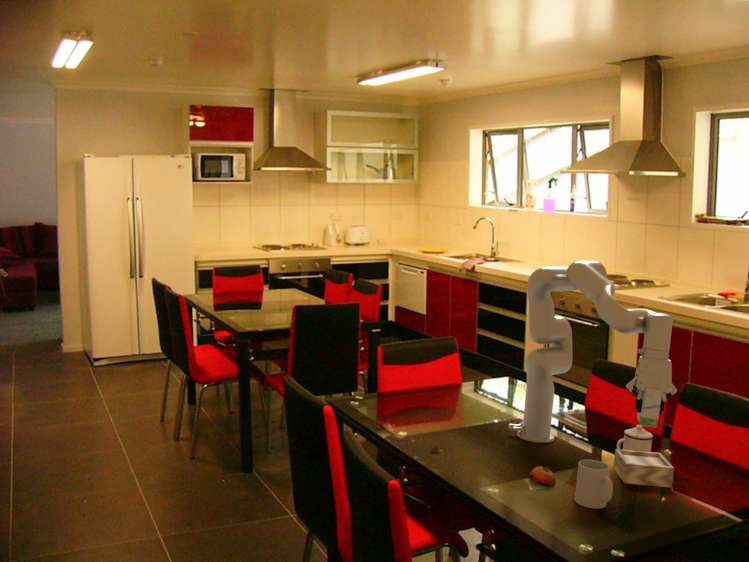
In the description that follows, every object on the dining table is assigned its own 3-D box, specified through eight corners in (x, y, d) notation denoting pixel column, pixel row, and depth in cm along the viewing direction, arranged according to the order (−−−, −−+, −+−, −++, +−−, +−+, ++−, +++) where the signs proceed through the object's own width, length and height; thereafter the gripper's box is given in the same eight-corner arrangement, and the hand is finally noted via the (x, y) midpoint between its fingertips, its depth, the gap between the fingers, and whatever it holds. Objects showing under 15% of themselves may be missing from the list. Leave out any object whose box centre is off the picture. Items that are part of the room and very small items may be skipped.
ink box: (637, 418, 250) (641, 381, 249) (654, 420, 249) (658, 383, 248) (640, 426, 242) (644, 387, 241) (658, 428, 241) (663, 389, 240)
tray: (624, 483, 241) (626, 463, 240) (613, 467, 255) (615, 449, 254) (671, 487, 240) (674, 468, 240) (658, 471, 254) (660, 452, 253)
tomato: (551, 485, 231) (539, 462, 234) (532, 496, 234) (520, 473, 237) (563, 482, 237) (550, 460, 240) (544, 493, 240) (532, 471, 243)
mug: (568, 498, 225) (572, 460, 224) (592, 495, 229) (596, 458, 228) (596, 515, 215) (600, 475, 213) (621, 512, 218) (625, 473, 217)
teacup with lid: (639, 455, 269) (643, 421, 268) (656, 464, 261) (660, 429, 259) (607, 456, 266) (611, 421, 265) (623, 465, 257) (627, 430, 256)
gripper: (629, 354, 240) (623, 413, 242) (688, 358, 239) (681, 418, 241) (623, 349, 247) (617, 406, 249) (680, 353, 246) (673, 411, 249)
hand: (649, 411), depth 245 cm, fingers closed on ink box, 5 cm apart
